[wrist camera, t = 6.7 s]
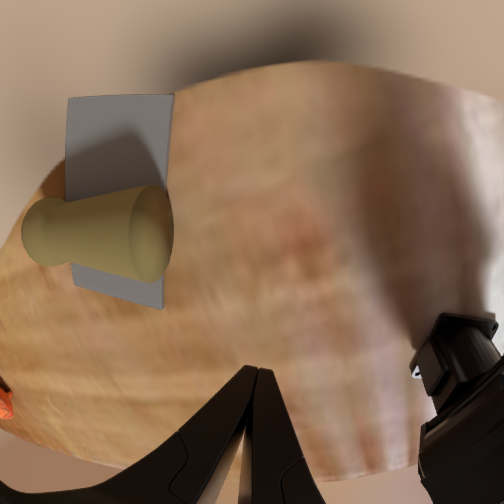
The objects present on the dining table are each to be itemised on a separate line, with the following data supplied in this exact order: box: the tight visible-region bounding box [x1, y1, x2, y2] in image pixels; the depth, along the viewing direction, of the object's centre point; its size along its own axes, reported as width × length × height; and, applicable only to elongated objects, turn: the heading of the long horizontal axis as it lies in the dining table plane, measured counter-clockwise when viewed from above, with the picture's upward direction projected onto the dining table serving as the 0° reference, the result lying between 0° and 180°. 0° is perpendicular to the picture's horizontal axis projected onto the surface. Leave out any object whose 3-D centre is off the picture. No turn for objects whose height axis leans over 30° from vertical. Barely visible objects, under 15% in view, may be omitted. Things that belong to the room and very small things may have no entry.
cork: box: [21, 184, 174, 284], centre depth 20 cm, size 6×6×11 cm
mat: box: [65, 94, 175, 310], centre depth 22 cm, size 9×16×1 cm, turn 173°
